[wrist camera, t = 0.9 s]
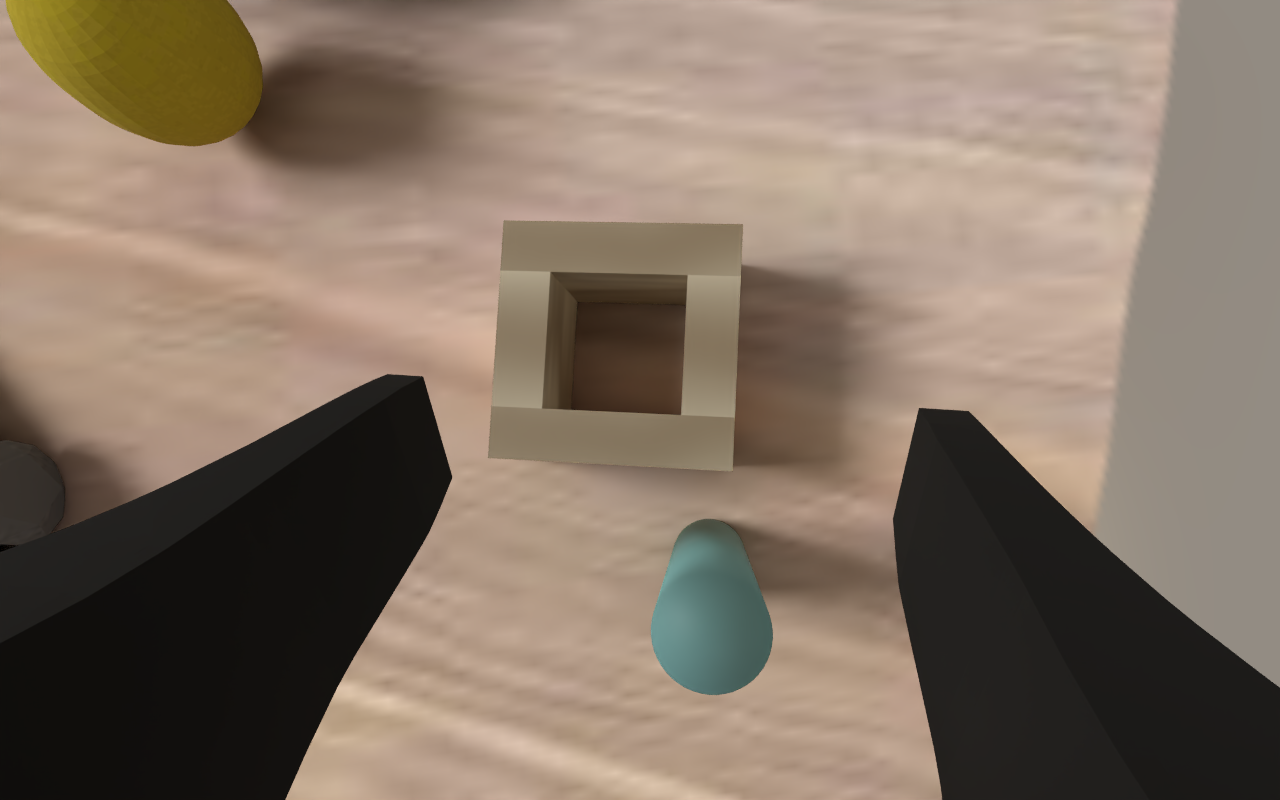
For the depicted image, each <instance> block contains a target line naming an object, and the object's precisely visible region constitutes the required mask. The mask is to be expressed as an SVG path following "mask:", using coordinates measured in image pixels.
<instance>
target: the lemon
mask: <svg viewBox="0 0 1280 800" xmlns="http://www.w3.org/2000/svg"><path fill="white" fill-rule="evenodd" d="M6 6H7V11H8V14H9V17H10V20H11V22H12V25H13V27H14V30H15V32H16V35H17V37H18V38H19V40H20V42H21V43H22V45H23V46H24V48H25V49H26V50H27V52H28V53H29V54H30V56H31V57H32V58H33V60H34V61H35V62H36V63H37V64H38V66H39V67H40V68H41V69H42V70H43V71H44V72H45V73H46V74H47V75H48V76H49V77H50V78H51V79H52V80H53V81H54V82H55V83H56V84H57V85H58V86H60V87H61V88H62V89H63V90H64V91H66V92H67V93H68V94H69V95H71V96H72V97H73V98H75V99H76V100H77V101H79V102H80V103H81V104H83V105H84V106H86V107H87V108H88V109H90V110H91V111H93V112H94V113H96V114H97V115H98V116H100V117H102V118H103V119H105V120H107V121H108V122H110V123H112V124H114V125H116V126H118V127H120V128H122V129H124V130H127V131H129V132H132V133H134V134H137V135H140V136H143V137H145V138H148V139H151V140H154V141H157V142H161V143H165V144H172V145H184V146H201V145H207V144H212V143H216V142H219V141H222V140H224V139H226V138H228V137H231V136H233V135H234V134H236V133H237V132H238V131H239V130H241V129H242V128H243V127H244V126H245V125H246V124H247V123H248V122H249V120H250V119H251V118H252V117H253V115H254V113H255V111H256V109H257V107H258V105H259V103H260V98H261V94H262V89H263V80H262V66H261V62H260V58H259V55H258V51H257V48H256V45H255V43H254V41H253V38H252V37H251V35H250V33H249V32H248V30H247V28H246V27H245V25H244V23H243V22H242V20H241V19H240V17H239V15H238V14H237V12H236V11H235V10H234V8H233V7H232V6H231V5H230V4H229V2H228V1H227V0H6Z"/></svg>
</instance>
